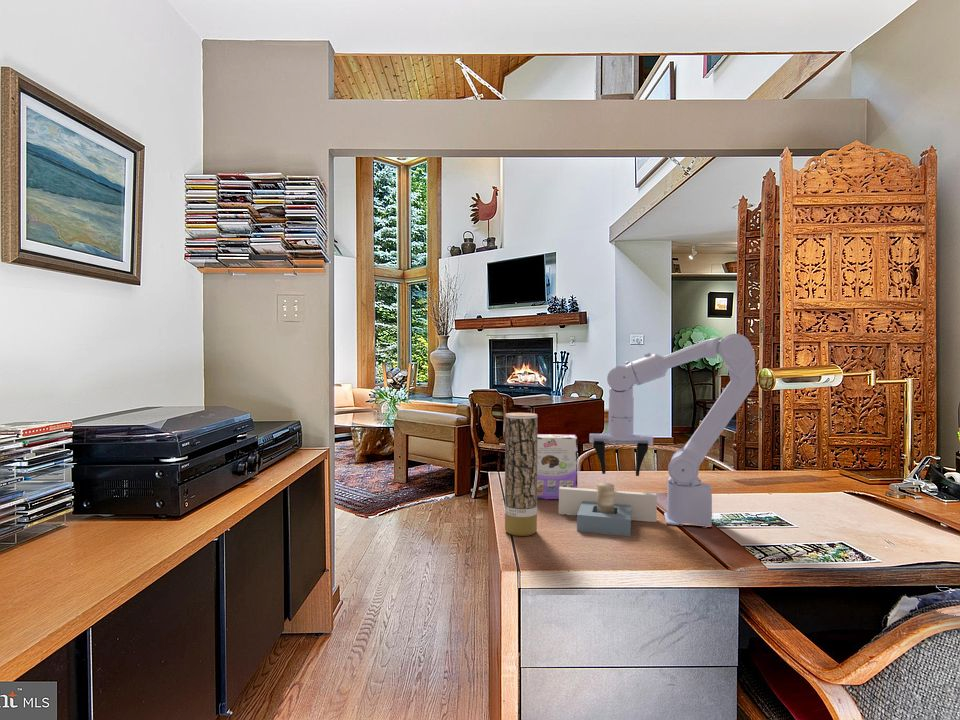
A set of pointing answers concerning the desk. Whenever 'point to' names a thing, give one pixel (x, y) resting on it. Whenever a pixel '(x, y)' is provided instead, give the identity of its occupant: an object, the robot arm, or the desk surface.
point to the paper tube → (521, 473)
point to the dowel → (605, 498)
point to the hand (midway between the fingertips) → (620, 474)
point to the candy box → (555, 464)
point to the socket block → (604, 519)
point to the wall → (640, 502)
